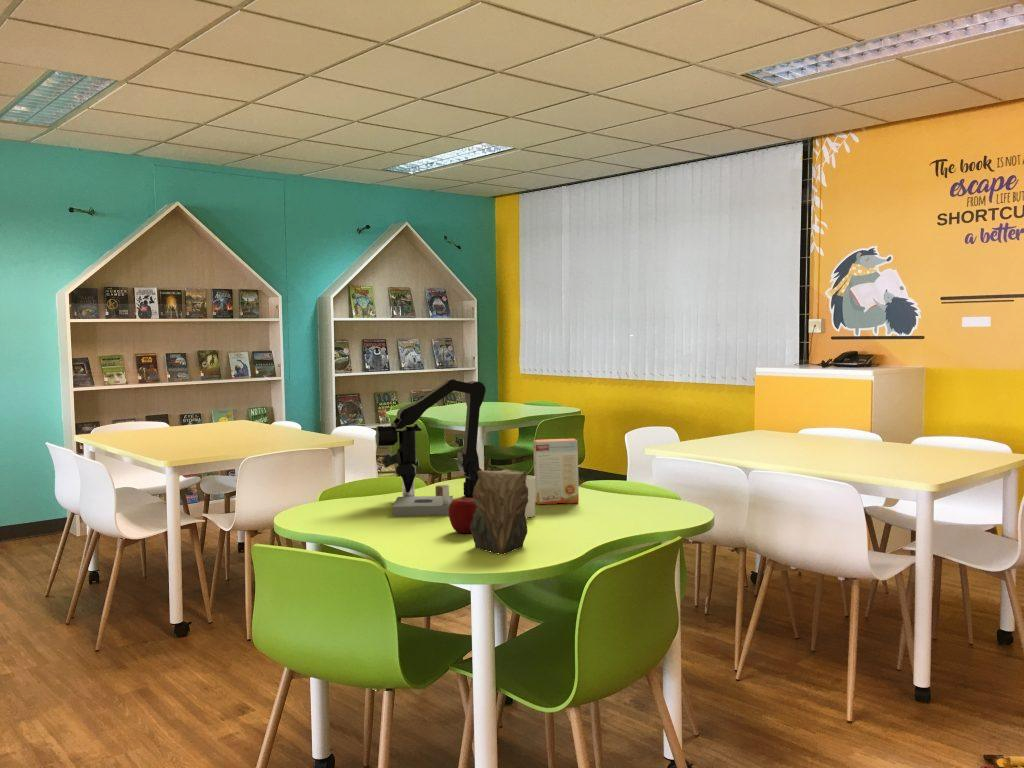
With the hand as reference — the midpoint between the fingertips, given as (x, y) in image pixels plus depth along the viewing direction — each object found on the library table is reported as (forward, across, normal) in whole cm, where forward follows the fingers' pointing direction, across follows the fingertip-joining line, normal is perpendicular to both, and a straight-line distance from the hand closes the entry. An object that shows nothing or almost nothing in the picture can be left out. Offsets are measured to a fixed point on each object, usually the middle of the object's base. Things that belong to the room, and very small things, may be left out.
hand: (408, 491), depth 282 cm
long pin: (+2, 0, 0) cm, 2 cm away
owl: (+4, +65, +29) cm, 71 cm away
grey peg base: (+4, +15, +6) cm, 17 cm away
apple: (+4, +46, +20) cm, 50 cm away
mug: (+4, +27, +36) cm, 45 cm away
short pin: (+4, 0, +11) cm, 12 cm away
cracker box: (+4, +7, +49) cm, 50 cm away
